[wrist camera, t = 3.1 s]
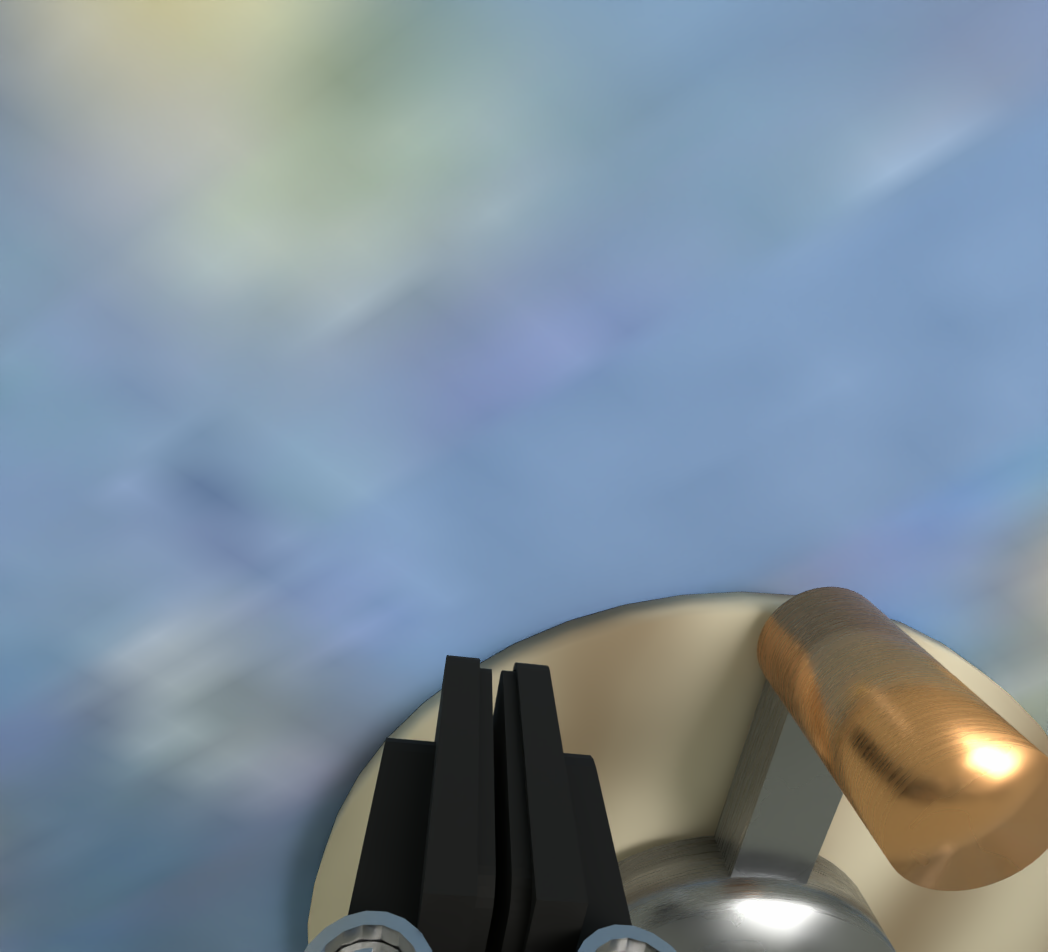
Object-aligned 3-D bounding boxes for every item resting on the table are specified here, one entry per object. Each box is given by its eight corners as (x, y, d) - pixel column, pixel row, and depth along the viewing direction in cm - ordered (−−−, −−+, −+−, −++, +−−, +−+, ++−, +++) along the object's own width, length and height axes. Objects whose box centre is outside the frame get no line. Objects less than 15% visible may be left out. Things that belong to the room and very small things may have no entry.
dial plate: (1194, 646, 17) (1246, 673, 16) (903, 1153, 24) (924, 1198, 23) (345, 537, 15) (332, 559, 14) (298, 1128, 22) (287, 1176, 20)
